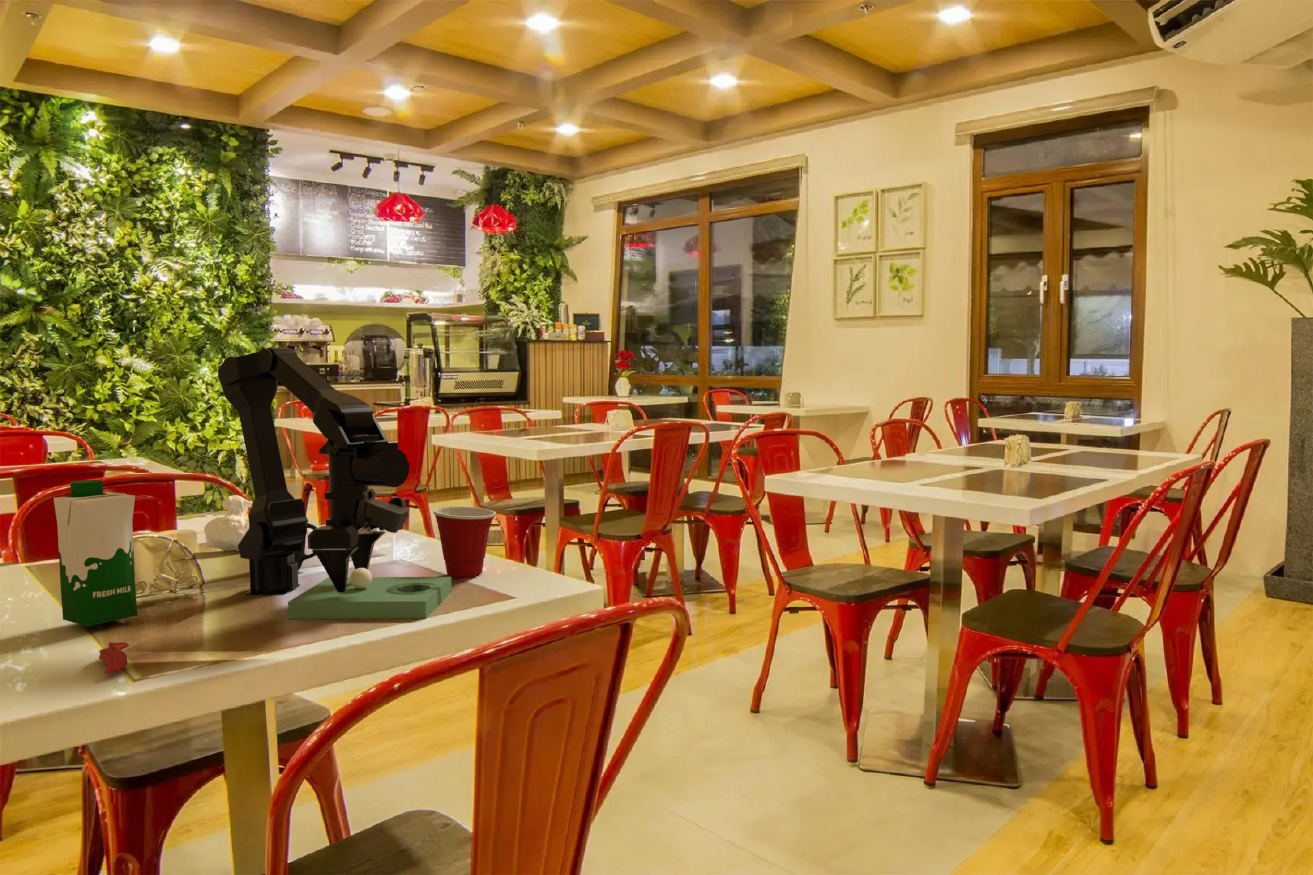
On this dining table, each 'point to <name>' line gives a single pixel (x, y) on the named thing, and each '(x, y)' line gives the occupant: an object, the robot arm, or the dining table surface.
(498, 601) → the dining table surface
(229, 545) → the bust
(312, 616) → the putting mat
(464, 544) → the plastic cup
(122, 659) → the cayenne pepper
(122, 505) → the milk carton
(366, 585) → the ball
